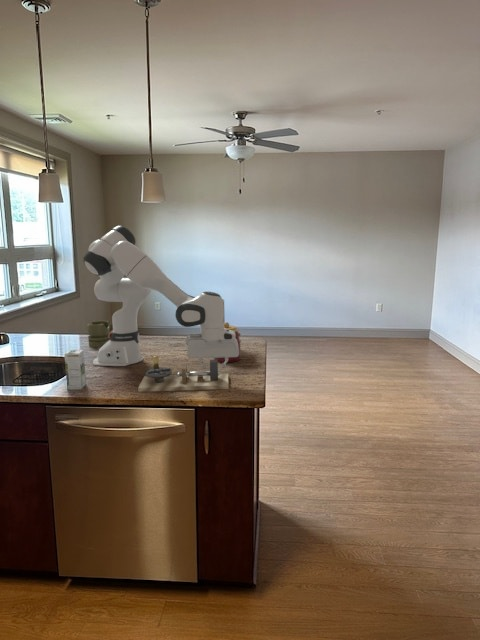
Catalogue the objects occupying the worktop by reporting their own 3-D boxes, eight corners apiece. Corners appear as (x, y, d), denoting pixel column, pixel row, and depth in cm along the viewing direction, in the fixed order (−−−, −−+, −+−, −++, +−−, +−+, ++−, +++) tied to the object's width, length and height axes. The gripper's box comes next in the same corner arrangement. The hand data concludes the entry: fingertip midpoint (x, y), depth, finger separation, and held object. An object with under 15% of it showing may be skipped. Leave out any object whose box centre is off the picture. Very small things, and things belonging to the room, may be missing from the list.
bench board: (138, 391, 161) (137, 381, 160) (144, 379, 175) (144, 369, 174) (228, 388, 163) (228, 378, 162) (228, 376, 176) (227, 367, 176)
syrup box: (71, 385, 170) (68, 349, 167) (86, 384, 170) (83, 349, 167) (67, 390, 164) (63, 353, 161) (82, 389, 165) (79, 353, 162)
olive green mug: (112, 320, 236) (103, 325, 225) (114, 342, 238) (105, 347, 227) (93, 320, 237) (83, 324, 226) (94, 341, 240) (85, 346, 229)
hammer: (176, 381, 166) (175, 363, 165) (177, 378, 170) (176, 360, 169) (220, 380, 167) (219, 362, 166) (220, 376, 171) (219, 359, 170)
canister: (219, 364, 193) (218, 326, 190) (209, 357, 205) (208, 321, 202) (245, 360, 198) (244, 323, 195) (234, 353, 210) (233, 318, 207)
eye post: (182, 383, 165) (181, 369, 164) (184, 377, 172) (183, 363, 171) (186, 383, 165) (185, 369, 164) (187, 377, 172) (186, 363, 171)
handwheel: (160, 368, 174) (160, 354, 173) (177, 373, 168) (176, 358, 167) (140, 374, 167) (139, 359, 166) (157, 379, 161) (156, 364, 159)
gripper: (184, 336, 162) (186, 371, 164) (239, 335, 163) (239, 369, 165) (186, 332, 168) (187, 366, 171) (238, 331, 169) (239, 365, 171)
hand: (213, 368), depth 168 cm, fingers open, 7 cm apart
